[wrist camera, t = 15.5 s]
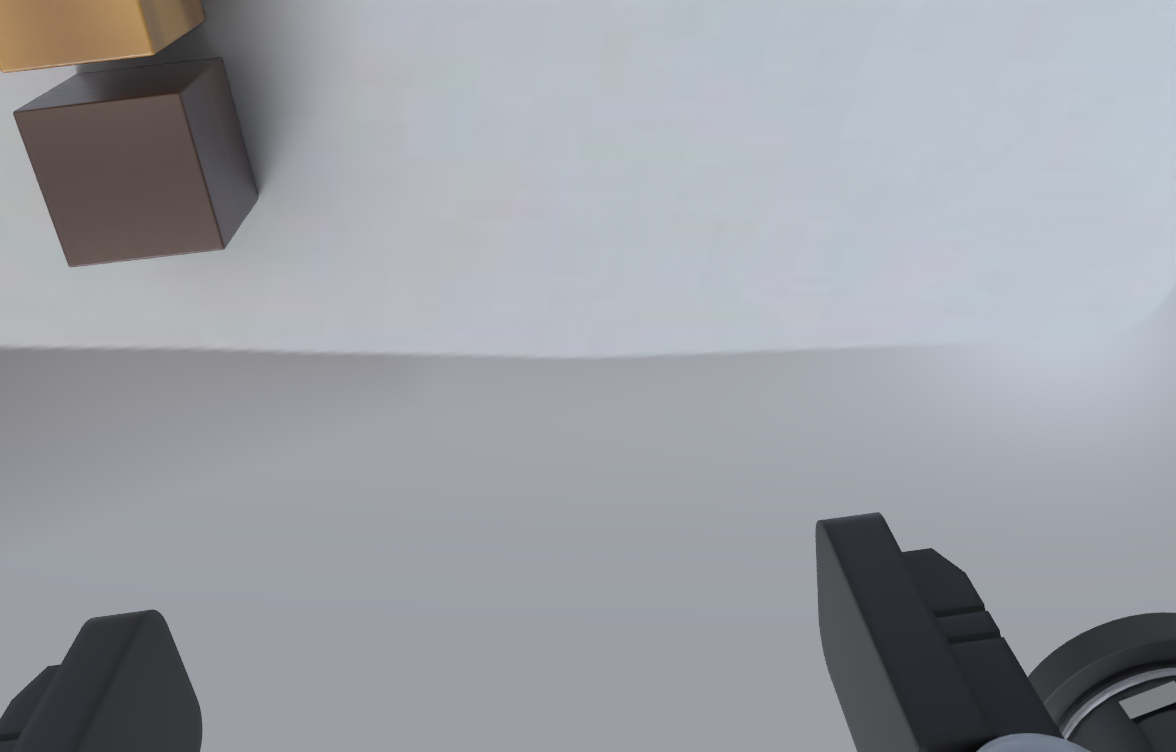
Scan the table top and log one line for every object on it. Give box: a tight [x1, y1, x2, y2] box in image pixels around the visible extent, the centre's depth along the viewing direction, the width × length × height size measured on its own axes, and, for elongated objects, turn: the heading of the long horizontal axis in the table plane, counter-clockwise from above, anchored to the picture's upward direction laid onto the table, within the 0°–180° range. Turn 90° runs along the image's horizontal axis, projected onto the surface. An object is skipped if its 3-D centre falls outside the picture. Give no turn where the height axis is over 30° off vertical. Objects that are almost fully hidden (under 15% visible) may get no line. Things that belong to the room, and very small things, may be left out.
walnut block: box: [13, 58, 259, 267], centre depth 31 cm, size 4×4×4 cm
